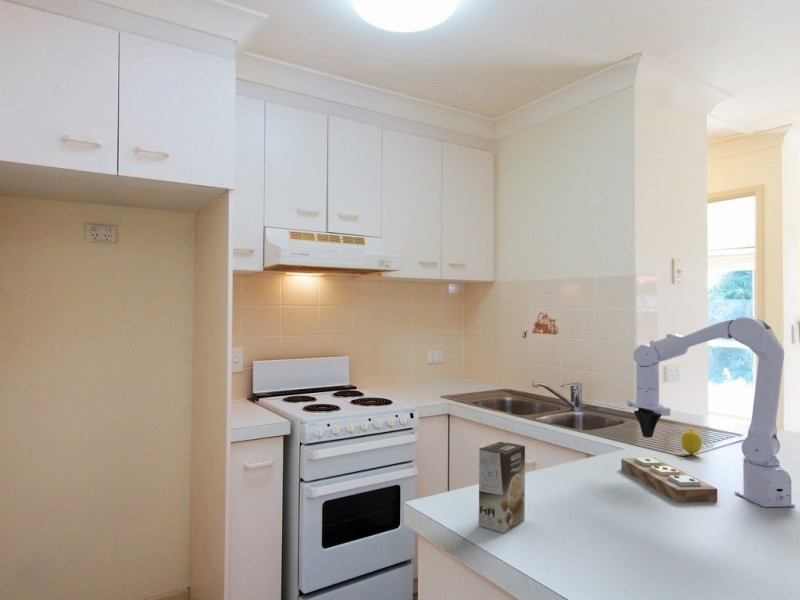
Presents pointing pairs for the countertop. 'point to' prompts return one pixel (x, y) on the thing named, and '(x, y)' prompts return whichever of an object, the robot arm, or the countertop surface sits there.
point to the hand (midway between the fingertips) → (647, 437)
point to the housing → (670, 483)
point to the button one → (647, 462)
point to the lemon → (691, 442)
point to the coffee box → (501, 486)
